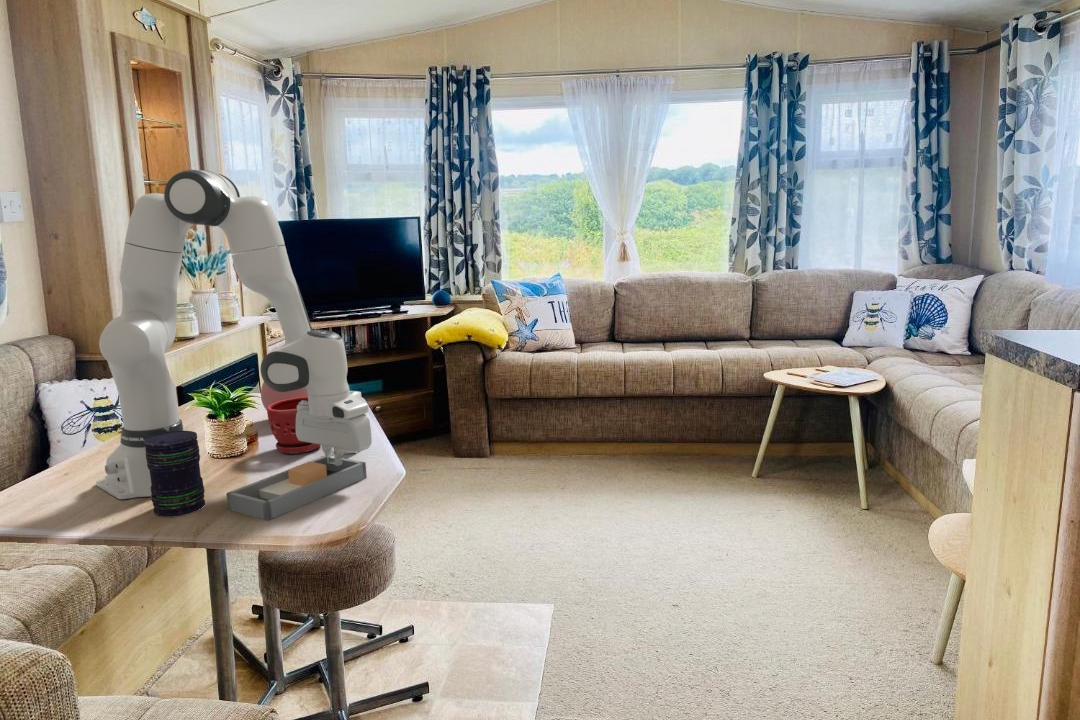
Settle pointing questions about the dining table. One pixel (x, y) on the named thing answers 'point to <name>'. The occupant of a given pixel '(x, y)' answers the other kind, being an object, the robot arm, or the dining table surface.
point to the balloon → (279, 395)
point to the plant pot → (287, 426)
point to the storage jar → (175, 473)
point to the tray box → (292, 490)
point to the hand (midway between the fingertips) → (335, 464)
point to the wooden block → (307, 473)
